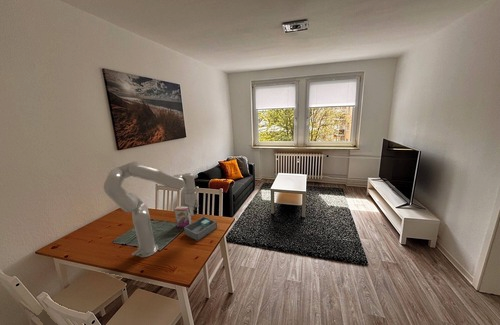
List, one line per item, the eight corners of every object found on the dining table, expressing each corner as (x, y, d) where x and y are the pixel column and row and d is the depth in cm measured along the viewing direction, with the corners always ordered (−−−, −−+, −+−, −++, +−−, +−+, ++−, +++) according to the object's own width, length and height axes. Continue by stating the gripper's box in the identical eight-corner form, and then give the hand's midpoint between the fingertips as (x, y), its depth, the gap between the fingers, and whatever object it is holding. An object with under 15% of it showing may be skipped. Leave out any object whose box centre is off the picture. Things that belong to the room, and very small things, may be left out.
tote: (197, 241, 142) (196, 234, 141) (184, 234, 151) (183, 227, 150) (217, 228, 157) (216, 221, 156) (204, 222, 166) (203, 216, 165)
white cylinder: (192, 216, 143) (191, 207, 141) (188, 214, 146) (187, 205, 144) (198, 213, 147) (197, 204, 145) (194, 211, 150) (193, 203, 148)
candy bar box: (176, 227, 162) (173, 209, 157) (179, 223, 166) (176, 206, 162) (189, 227, 160) (187, 209, 156) (192, 223, 165) (189, 206, 161)
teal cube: (205, 229, 154) (205, 224, 153) (201, 227, 157) (200, 222, 156) (210, 226, 158) (209, 221, 157) (206, 224, 161) (205, 219, 160)
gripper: (178, 189, 143) (182, 212, 148) (193, 194, 133) (196, 218, 138) (187, 186, 149) (190, 208, 154) (201, 190, 139) (204, 213, 144)
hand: (193, 212), depth 146 cm, fingers closed on white cylinder, 4 cm apart
